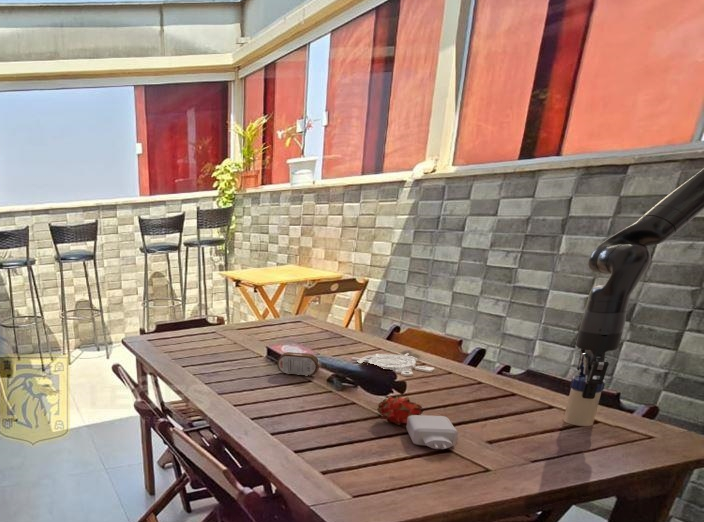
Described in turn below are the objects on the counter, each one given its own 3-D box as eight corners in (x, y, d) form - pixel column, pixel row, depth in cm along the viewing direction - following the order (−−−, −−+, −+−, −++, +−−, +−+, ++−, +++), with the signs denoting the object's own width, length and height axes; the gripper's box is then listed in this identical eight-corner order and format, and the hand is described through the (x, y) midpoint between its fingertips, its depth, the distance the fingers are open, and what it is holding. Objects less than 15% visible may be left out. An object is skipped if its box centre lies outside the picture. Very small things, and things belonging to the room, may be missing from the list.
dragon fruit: (371, 426, 140) (416, 431, 138) (382, 419, 132) (431, 425, 130) (371, 398, 142) (416, 402, 140) (383, 390, 134) (431, 394, 132)
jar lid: (565, 384, 127) (567, 375, 126) (594, 384, 125) (596, 375, 124) (578, 392, 122) (580, 382, 121) (608, 392, 120) (611, 382, 119)
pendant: (404, 352, 195) (404, 349, 195) (442, 373, 169) (442, 370, 169) (348, 357, 198) (348, 353, 198) (376, 378, 172) (377, 374, 172)
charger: (417, 455, 119) (405, 430, 132) (462, 458, 116) (446, 432, 129) (420, 438, 118) (407, 414, 131) (465, 440, 114) (448, 416, 127)
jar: (566, 416, 130) (575, 376, 127) (595, 420, 126) (605, 379, 122) (561, 422, 127) (570, 382, 123) (590, 427, 123) (601, 386, 119)
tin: (319, 375, 181) (320, 353, 178) (316, 378, 179) (317, 356, 176) (278, 371, 190) (279, 351, 187) (276, 374, 188) (276, 353, 185)
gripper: (573, 322, 126) (559, 383, 132) (586, 335, 115) (570, 402, 120) (614, 322, 122) (597, 386, 128) (632, 336, 111) (613, 405, 116)
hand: (584, 393), depth 124 cm, fingers closed on jar lid, 6 cm apart
